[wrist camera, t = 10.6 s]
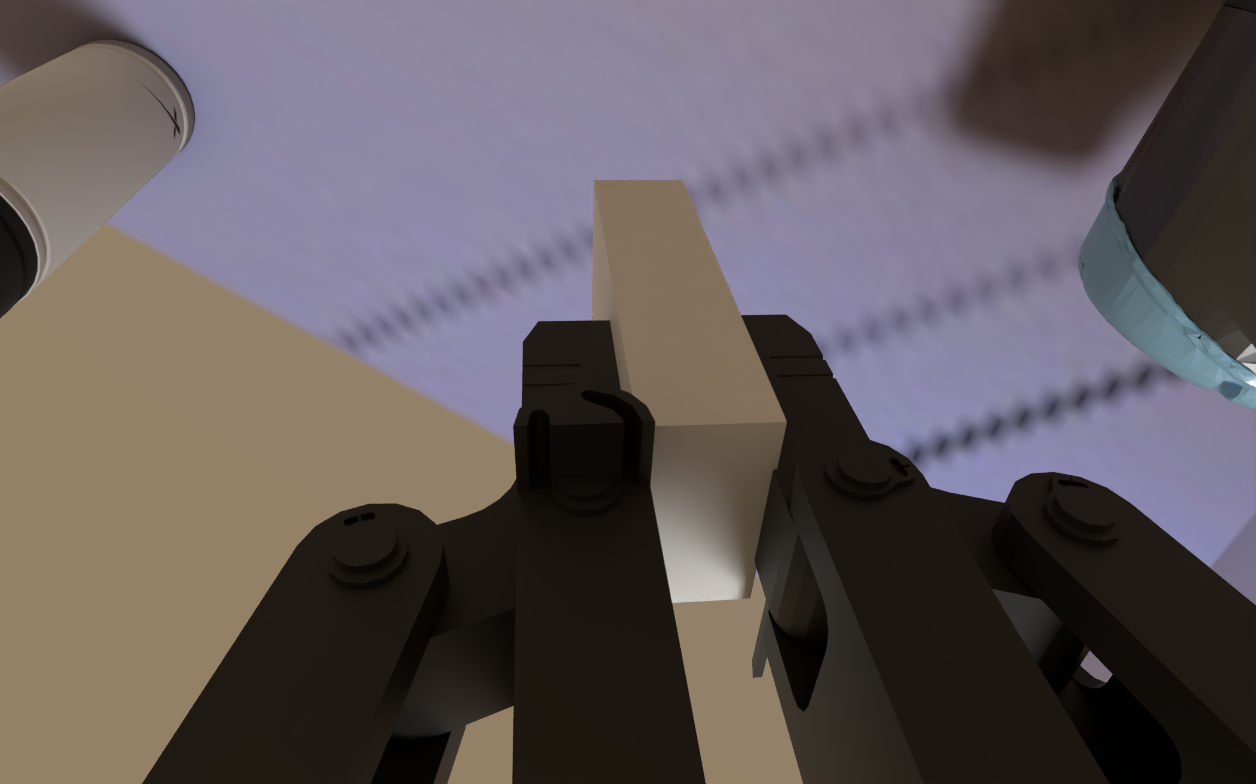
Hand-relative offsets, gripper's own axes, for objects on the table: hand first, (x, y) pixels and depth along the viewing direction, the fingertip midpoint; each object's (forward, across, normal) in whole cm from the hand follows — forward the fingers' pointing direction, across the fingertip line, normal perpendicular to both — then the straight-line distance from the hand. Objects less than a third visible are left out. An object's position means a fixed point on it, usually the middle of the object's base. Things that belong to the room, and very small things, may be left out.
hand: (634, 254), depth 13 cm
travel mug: (+32, -23, -6) cm, 40 cm away
